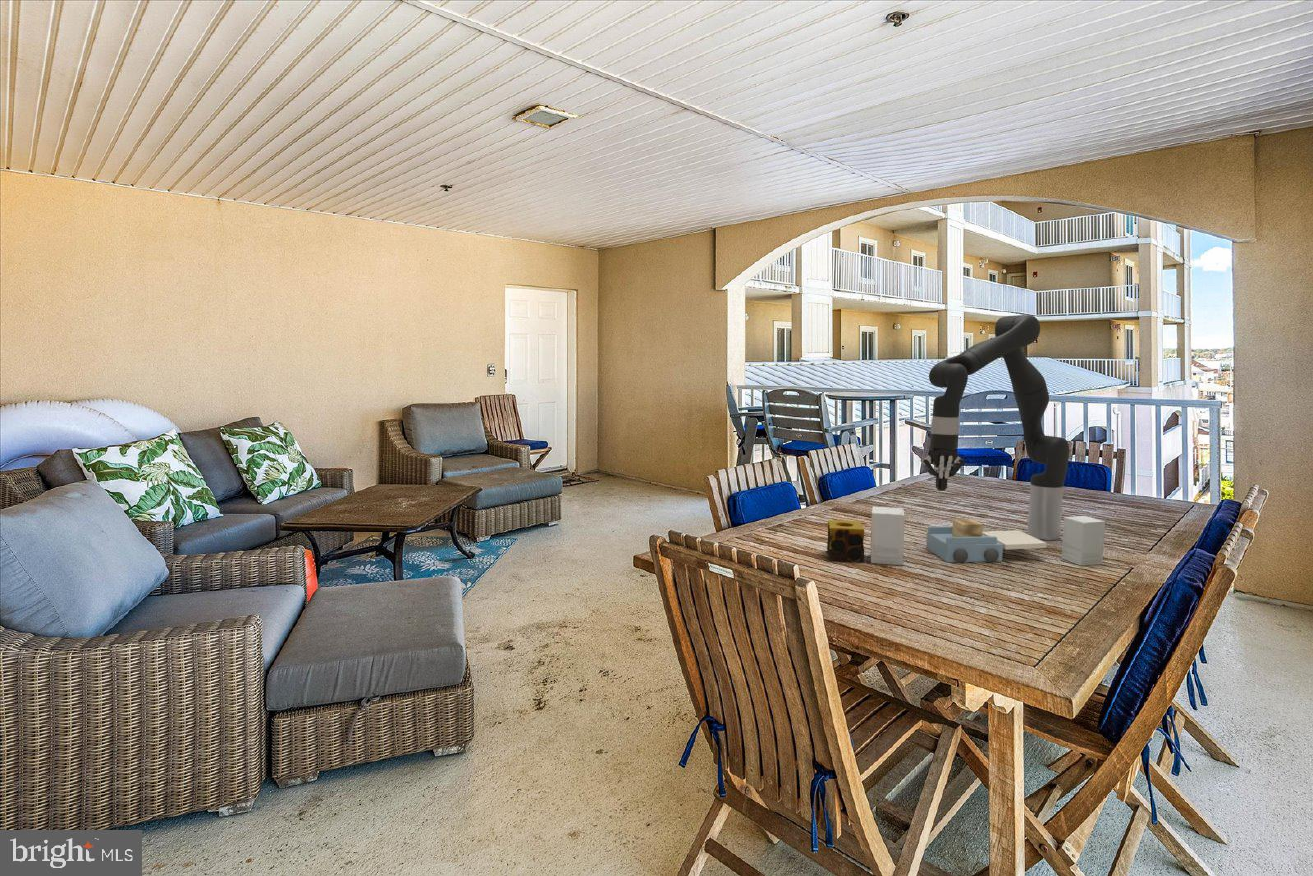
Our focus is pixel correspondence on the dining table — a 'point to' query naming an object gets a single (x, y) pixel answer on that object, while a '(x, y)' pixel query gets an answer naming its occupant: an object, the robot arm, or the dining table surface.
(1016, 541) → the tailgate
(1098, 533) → the supplement box
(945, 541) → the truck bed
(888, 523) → the supplement box
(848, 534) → the yellow spotted cube
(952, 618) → the dining table surface
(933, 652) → the dining table surface
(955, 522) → the wooden block
